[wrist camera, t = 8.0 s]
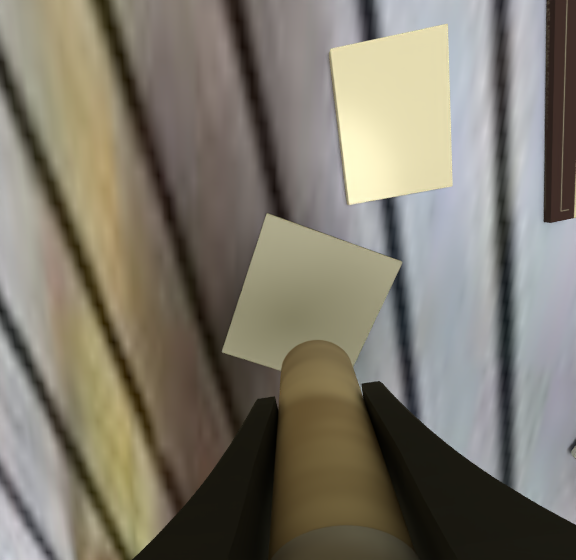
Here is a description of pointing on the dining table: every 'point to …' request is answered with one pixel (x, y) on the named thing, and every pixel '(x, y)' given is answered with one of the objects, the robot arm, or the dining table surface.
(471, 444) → the dining table surface
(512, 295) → the dining table surface
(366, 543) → the dowel
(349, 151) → the tile
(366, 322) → the mat
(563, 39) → the chocolate bar
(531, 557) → the robot arm
